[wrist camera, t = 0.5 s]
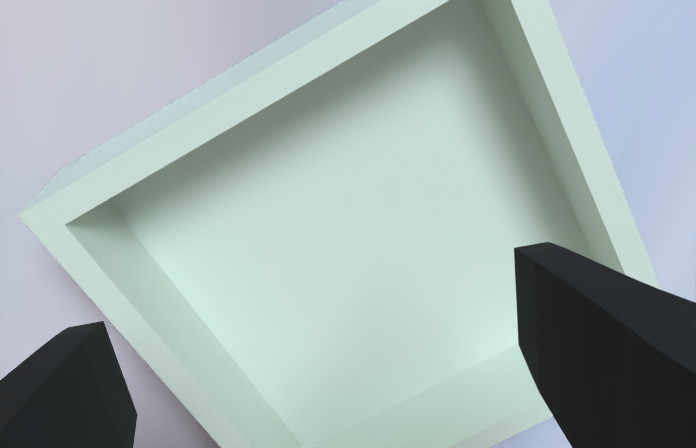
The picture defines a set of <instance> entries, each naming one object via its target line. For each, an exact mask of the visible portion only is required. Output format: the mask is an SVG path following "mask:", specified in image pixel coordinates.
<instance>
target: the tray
mask: <svg viewBox="0 0 696 448" xmlns="http://www.w3.org/2000/svg"><path fill="white" fill-rule="evenodd" d="M18 216H19V217H20V219H21V220H22V221H23V222H24V223H25V224H26V225H27V227H28V228H29V229H30V230H31V231H32V232H33V233H34V235H35V236H36V237H37V238H38V239H39V240H40V241H41V243H42V244H43V245H44V246H45V247H46V248H47V249H48V251H49V252H50V253H51V254H52V255H53V256H54V257H55V259H56V260H57V261H58V262H59V263H60V264H61V265H62V267H63V268H64V269H65V270H66V271H67V272H68V273H69V275H70V276H71V277H72V278H73V279H74V280H75V281H76V283H77V284H78V285H79V286H80V287H81V288H82V289H83V291H84V292H85V293H86V294H87V295H88V296H89V298H90V299H91V300H92V301H93V302H94V303H95V304H96V306H97V307H98V308H99V309H100V310H101V311H102V312H103V314H104V315H105V316H106V317H107V318H108V319H109V320H110V322H111V323H112V324H113V325H114V326H115V327H116V328H117V330H118V331H119V332H120V333H121V334H122V335H123V336H124V338H125V339H126V340H127V341H128V342H129V343H130V344H131V346H132V347H133V348H134V349H135V350H136V351H137V352H138V354H139V355H140V356H141V357H142V358H143V359H144V360H145V362H146V363H147V364H148V365H149V366H150V367H151V368H152V370H153V371H154V372H155V373H156V374H157V375H158V376H159V378H160V379H161V380H162V381H163V382H164V383H165V384H166V386H167V387H168V388H169V389H170V390H171V391H172V392H173V394H174V395H175V396H176V397H177V398H178V399H179V400H180V402H181V403H182V404H183V405H184V406H185V407H186V408H187V410H188V411H189V412H190V413H191V414H192V415H193V416H194V418H195V419H196V420H197V421H198V422H199V423H200V424H201V426H202V427H203V428H204V429H205V430H206V431H207V432H208V434H209V435H210V436H211V437H212V438H213V439H214V440H215V442H216V443H217V444H218V445H219V446H220V447H221V448H490V447H492V446H494V445H496V444H498V443H500V442H502V441H504V440H506V439H508V438H510V437H512V436H514V435H516V434H518V433H520V432H523V431H525V430H527V429H529V428H531V427H533V426H535V425H537V424H539V423H541V422H543V421H545V420H547V419H549V418H551V417H553V415H552V413H551V411H550V410H549V408H548V406H547V405H546V403H545V401H544V400H543V398H542V396H541V395H540V393H539V391H538V389H537V387H536V384H535V382H534V380H533V378H532V375H531V373H530V371H529V369H528V366H527V364H526V361H525V359H524V357H523V354H522V352H521V349H520V347H519V344H518V323H517V303H516V282H515V262H514V248H516V247H521V246H527V245H533V244H538V243H544V242H551V243H553V244H556V245H559V246H562V247H564V248H566V249H569V250H571V251H573V252H576V253H578V254H580V255H582V256H584V257H587V258H589V259H591V260H593V261H596V262H598V263H600V264H602V265H604V266H607V267H609V268H611V269H613V270H615V271H618V272H620V273H622V274H625V275H627V276H629V277H631V278H634V279H636V280H638V281H641V282H643V283H645V284H648V285H650V286H653V287H655V288H658V289H660V290H662V289H661V287H660V284H659V282H658V279H657V277H656V274H655V271H654V269H653V266H652V264H651V261H650V259H649V256H648V254H647V251H646V248H645V246H644V243H643V241H642V238H641V236H640V233H639V231H638V228H637V226H636V223H635V220H634V218H633V215H632V213H631V210H630V208H629V205H628V203H627V200H626V197H625V195H624V192H623V190H622V187H621V185H620V182H619V180H618V177H617V175H616V172H615V169H614V167H613V164H612V162H611V159H610V157H609V154H608V152H607V149H606V147H605V144H604V141H603V139H602V136H601V134H600V131H599V129H598V126H597V124H596V121H595V118H594V116H593V113H592V111H591V108H590V106H589V103H588V101H587V98H586V96H585V93H584V90H583V88H582V85H581V83H580V80H579V78H578V75H577V73H576V70H575V68H574V65H573V62H572V60H571V57H570V55H569V52H568V50H567V47H566V45H565V42H564V39H563V37H562V34H561V32H560V29H559V27H558V24H557V22H556V19H555V17H554V14H553V11H552V9H551V6H550V4H549V1H548V0H343V1H341V2H339V3H338V4H336V5H334V6H333V7H331V8H329V9H328V10H326V11H324V12H323V13H321V14H319V15H318V16H316V17H314V18H313V19H311V20H309V21H308V22H306V23H304V24H303V25H301V26H299V27H298V28H296V29H294V30H293V31H291V32H289V33H287V34H286V35H284V36H282V37H281V38H279V39H277V40H276V41H274V42H272V43H271V44H269V45H267V46H266V47H264V48H262V49H261V50H259V51H257V52H256V53H254V54H252V55H251V56H249V57H247V58H246V59H244V60H242V61H241V62H239V63H237V64H236V65H234V66H232V67H231V68H229V69H227V70H225V71H224V72H222V73H220V74H219V75H217V76H215V77H214V78H212V79H210V80H209V81H207V82H205V83H204V84H202V85H200V86H199V87H197V88H195V89H194V90H192V91H190V92H189V93H187V94H185V95H184V96H182V97H180V98H179V99H177V100H175V101H174V102H172V103H170V104H169V105H167V106H165V107H164V108H162V109H160V110H158V111H157V112H155V113H153V114H152V115H150V116H148V117H147V118H145V119H143V120H142V121H140V122H138V123H137V124H135V125H133V126H132V127H130V128H128V129H127V130H125V131H123V132H122V133H120V134H118V135H117V136H115V137H113V138H112V139H110V140H108V141H107V142H105V143H103V144H102V145H100V146H98V147H96V148H95V149H93V150H91V151H90V152H88V153H86V154H85V155H83V156H81V157H80V158H78V159H76V160H75V161H73V162H71V163H70V164H68V165H66V166H65V167H63V168H61V169H60V170H59V171H58V172H57V174H56V175H55V176H54V177H53V178H52V179H51V180H50V181H49V182H48V183H47V184H46V185H45V187H44V188H43V189H42V190H41V191H40V192H39V193H38V194H37V195H36V196H35V197H34V198H33V199H32V201H31V202H30V203H29V204H28V205H27V206H26V207H25V208H24V209H23V210H22V211H21V212H20V214H19V215H18Z"/></svg>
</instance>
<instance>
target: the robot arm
mask: <svg viewBox="0 0 696 448" xmlns="http://www.w3.org/2000/svg"><path fill="white" fill-rule="evenodd" d="M514 262H515V282H516V303H517V323H518V344H519V347H520V349H521V352H522V354H523V357H524V359H525V361H526V364H527V366H528V369H529V371H530V373H531V375H532V378H533V380H534V382H535V384H536V387H537V389H538V391H539V393H540V395H541V396H542V398H543V400H544V401H545V403H546V405H547V406H548V408H549V410H550V411H551V413H552V415H553V416H554V418H555V420H556V421H557V423H558V425H559V426H560V428H561V430H562V431H563V433H564V434H565V436H566V438H567V439H568V441H569V443H570V444H571V446H572V447H573V448H696V303H695V302H692V301H689V300H686V299H684V298H681V297H678V296H676V295H673V294H670V293H668V292H665V291H663V290H660V289H658V288H655V287H653V286H650V285H648V284H645V283H643V282H641V281H638V280H636V279H634V278H631V277H629V276H627V275H625V274H622V273H620V272H618V271H615V270H613V269H611V268H609V267H607V266H604V265H602V264H600V263H598V262H596V261H593V260H591V259H589V258H587V257H584V256H582V255H580V254H578V253H576V252H573V251H571V250H569V249H566V248H564V247H562V246H559V245H556V244H553V243H551V242H544V243H538V244H533V245H527V246H521V247H516V248H514ZM136 420H137V412H136V410H135V407H134V404H133V401H132V399H131V396H130V393H129V390H128V388H127V385H126V382H125V379H124V377H123V374H122V371H121V368H120V366H119V363H118V360H117V357H116V355H115V352H114V349H113V346H112V344H111V341H110V338H109V335H108V333H107V330H106V327H105V324H104V322H103V321H102V322H96V323H90V324H85V325H79V326H74V327H68V328H67V329H65V330H64V331H62V332H60V333H59V334H58V335H56V336H55V337H53V338H52V339H51V340H49V341H48V342H47V343H46V344H44V345H43V346H42V347H40V348H39V349H38V350H37V351H35V352H34V353H33V354H32V355H31V356H29V357H28V358H27V359H26V360H24V361H23V362H22V363H21V364H20V365H18V366H17V367H16V368H15V369H14V370H12V371H11V372H10V373H9V374H8V375H6V376H5V377H4V378H3V379H1V380H0V448H133V444H134V436H135V428H136Z"/></svg>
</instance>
